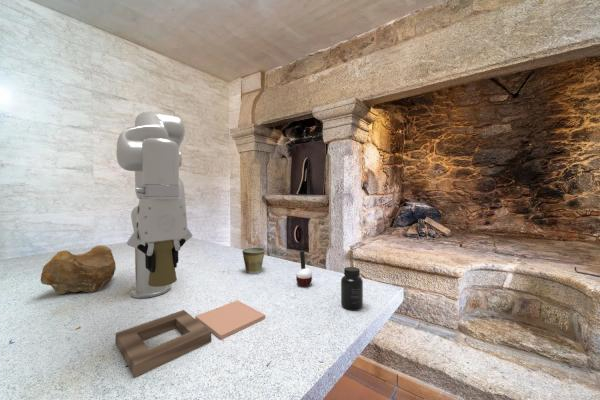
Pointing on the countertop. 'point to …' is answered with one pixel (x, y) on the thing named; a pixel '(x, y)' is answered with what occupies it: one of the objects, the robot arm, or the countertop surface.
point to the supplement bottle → (352, 289)
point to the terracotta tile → (229, 318)
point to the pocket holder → (149, 359)
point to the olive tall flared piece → (163, 265)
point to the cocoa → (304, 273)
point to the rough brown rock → (79, 270)
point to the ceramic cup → (253, 259)
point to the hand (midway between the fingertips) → (162, 267)
